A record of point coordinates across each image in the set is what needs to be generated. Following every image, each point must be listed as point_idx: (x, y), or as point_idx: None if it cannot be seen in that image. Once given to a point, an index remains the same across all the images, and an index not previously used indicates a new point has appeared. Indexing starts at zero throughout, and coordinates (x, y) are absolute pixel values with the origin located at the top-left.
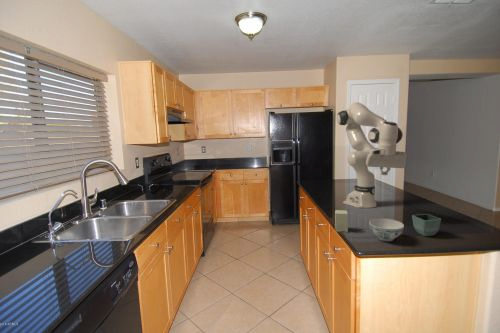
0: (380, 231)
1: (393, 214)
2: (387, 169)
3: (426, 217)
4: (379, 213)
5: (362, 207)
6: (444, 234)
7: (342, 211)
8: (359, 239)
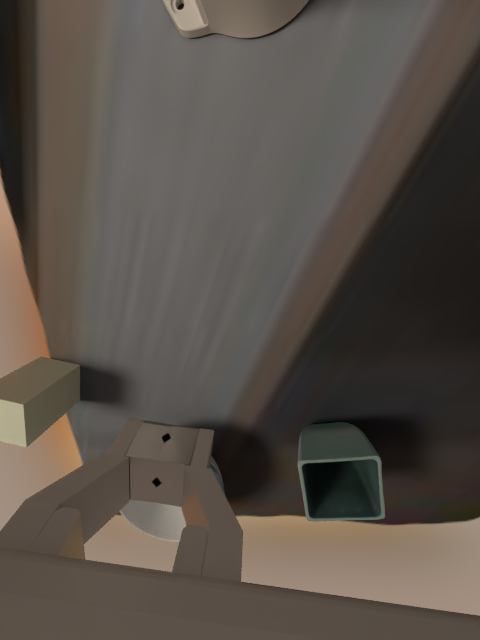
0: (142, 514)
1: (338, 194)
2: (202, 520)
3: (367, 448)
4: (270, 171)
5: (207, 33)
6: (391, 444)
7: (5, 414)
8: None
